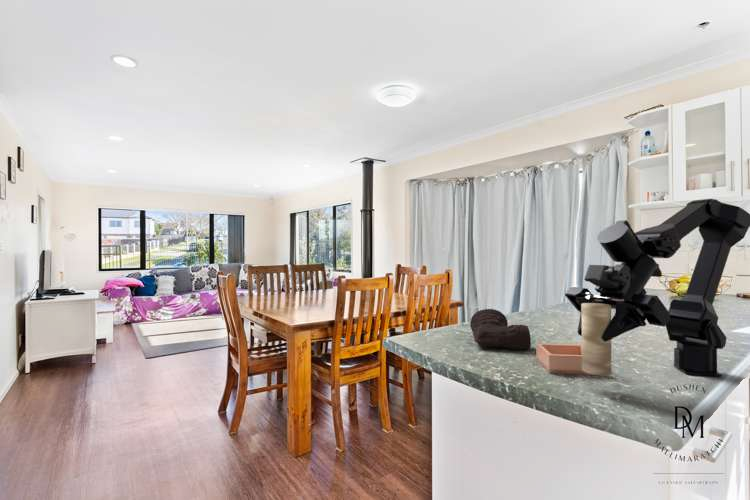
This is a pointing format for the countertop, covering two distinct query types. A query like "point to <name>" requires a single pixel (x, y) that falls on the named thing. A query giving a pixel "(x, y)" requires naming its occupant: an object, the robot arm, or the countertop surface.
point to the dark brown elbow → (498, 331)
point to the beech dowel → (595, 339)
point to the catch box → (560, 358)
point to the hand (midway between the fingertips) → (591, 337)
